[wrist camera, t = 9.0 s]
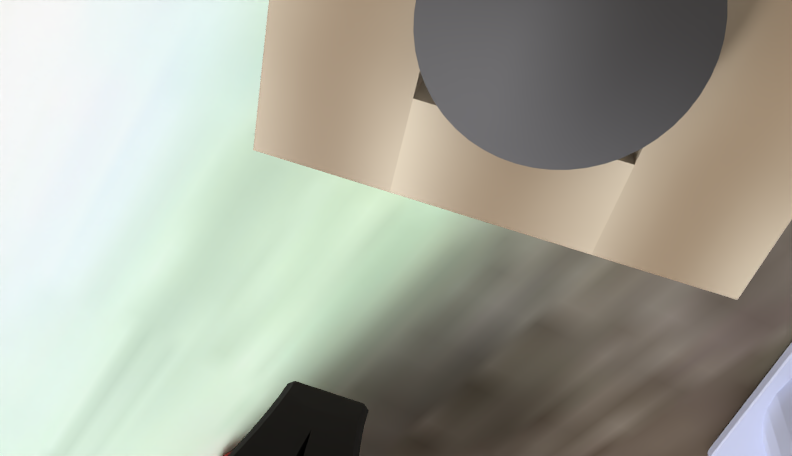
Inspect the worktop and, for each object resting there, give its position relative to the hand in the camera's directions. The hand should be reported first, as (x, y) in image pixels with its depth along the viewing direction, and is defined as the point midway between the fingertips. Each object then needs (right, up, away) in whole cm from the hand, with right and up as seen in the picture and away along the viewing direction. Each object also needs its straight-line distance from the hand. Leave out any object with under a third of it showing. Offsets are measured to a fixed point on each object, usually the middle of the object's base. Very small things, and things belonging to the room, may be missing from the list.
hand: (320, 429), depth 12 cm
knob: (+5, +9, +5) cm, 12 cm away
